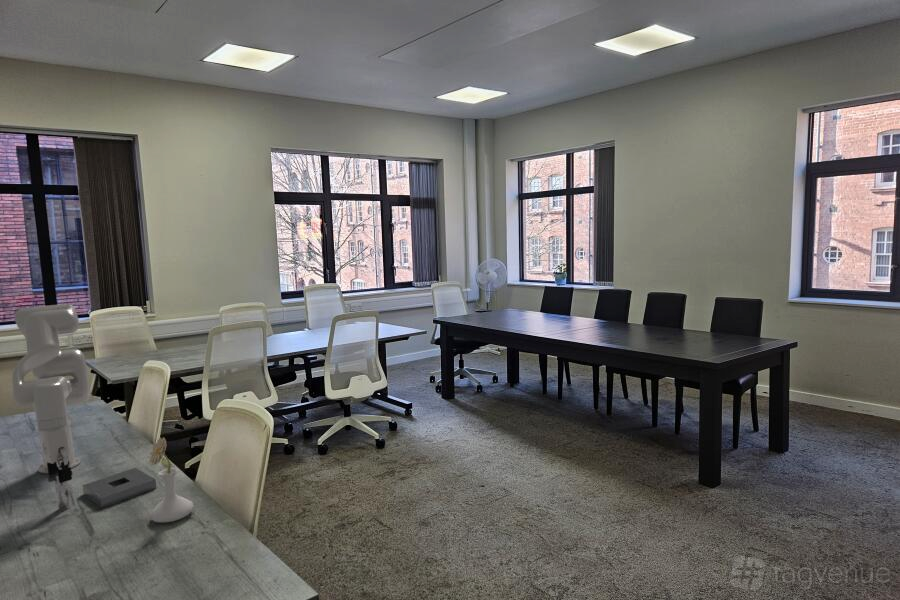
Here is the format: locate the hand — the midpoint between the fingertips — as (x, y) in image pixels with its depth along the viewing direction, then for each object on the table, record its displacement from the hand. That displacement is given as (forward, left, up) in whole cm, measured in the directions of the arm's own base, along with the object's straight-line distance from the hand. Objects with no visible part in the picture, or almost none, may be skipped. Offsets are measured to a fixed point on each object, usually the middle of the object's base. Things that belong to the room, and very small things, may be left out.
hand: (60, 477), depth 166 cm
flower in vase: (+34, +17, -10) cm, 40 cm away
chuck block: (+1, +15, -10) cm, 18 cm away
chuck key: (-1, 0, -10) cm, 10 cm away
